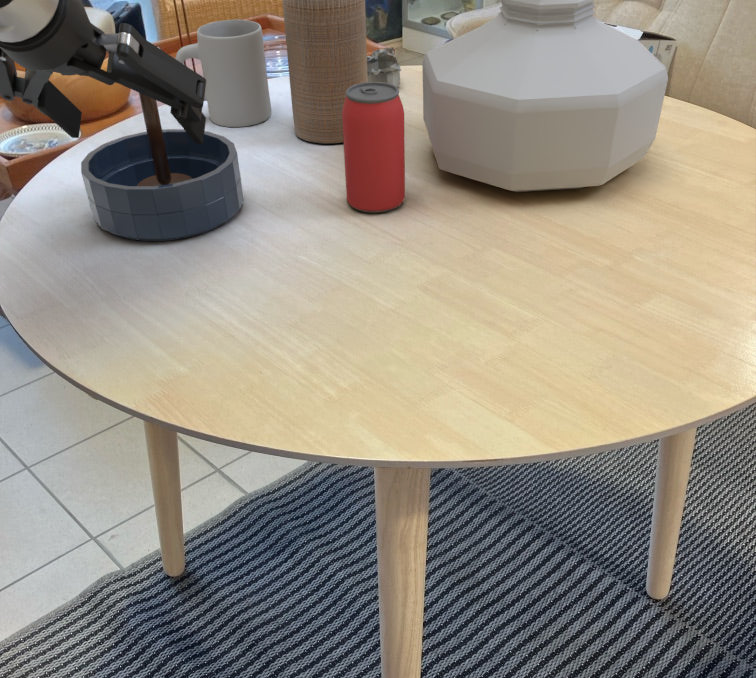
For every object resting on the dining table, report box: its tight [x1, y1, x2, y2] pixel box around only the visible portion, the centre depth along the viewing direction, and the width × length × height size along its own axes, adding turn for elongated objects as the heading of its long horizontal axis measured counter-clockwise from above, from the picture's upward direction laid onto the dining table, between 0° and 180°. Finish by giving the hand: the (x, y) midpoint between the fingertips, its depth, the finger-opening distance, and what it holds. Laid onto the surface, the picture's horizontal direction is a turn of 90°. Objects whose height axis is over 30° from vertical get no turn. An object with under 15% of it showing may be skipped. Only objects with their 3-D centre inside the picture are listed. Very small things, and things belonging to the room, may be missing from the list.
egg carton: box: [367, 46, 402, 88], centre depth 125 cm, size 11×8×4 cm
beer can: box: [342, 82, 406, 214], centre depth 93 cm, size 7×7×12 cm
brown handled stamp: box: [137, 92, 193, 186], centre depth 90 cm, size 6×6×17 cm
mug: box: [174, 19, 272, 128], centre depth 114 cm, size 12×8×11 cm
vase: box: [281, 0, 368, 145], centre depth 104 cm, size 10×10×28 cm
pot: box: [422, 0, 669, 193], centre depth 98 cm, size 28×28×19 cm
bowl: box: [80, 128, 245, 242], centre depth 95 cm, size 17×17×6 cm
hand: (138, 128), depth 88 cm, fingers open, 13 cm apart
